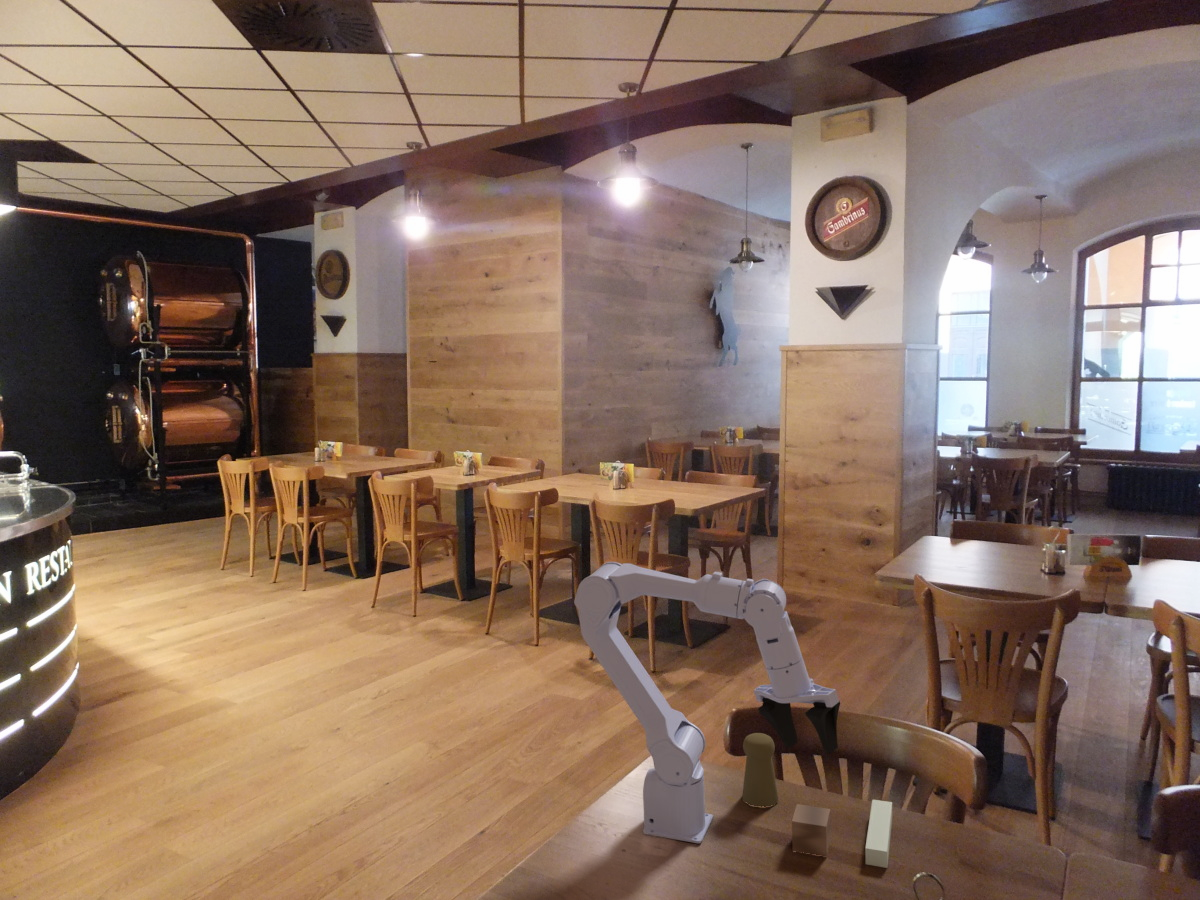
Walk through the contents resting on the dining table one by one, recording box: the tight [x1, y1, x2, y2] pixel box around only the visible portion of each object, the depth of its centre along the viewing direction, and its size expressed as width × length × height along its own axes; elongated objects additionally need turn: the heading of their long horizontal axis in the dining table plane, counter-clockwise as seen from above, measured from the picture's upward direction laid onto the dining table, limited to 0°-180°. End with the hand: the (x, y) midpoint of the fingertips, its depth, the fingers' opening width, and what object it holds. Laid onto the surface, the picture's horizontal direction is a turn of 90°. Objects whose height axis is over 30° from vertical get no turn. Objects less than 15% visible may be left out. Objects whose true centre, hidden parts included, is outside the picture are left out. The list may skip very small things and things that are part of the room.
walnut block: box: [791, 803, 832, 857], centre depth 128 cm, size 5×5×5 cm
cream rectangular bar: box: [864, 799, 893, 869], centre depth 129 cm, size 3×14×2 cm, turn 158°
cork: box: [741, 732, 779, 807], centre depth 141 cm, size 6×6×11 cm
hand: (811, 747), depth 126 cm, fingers open, 7 cm apart
